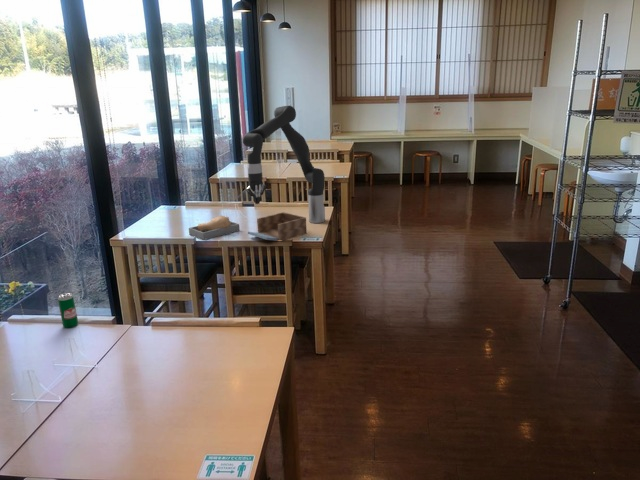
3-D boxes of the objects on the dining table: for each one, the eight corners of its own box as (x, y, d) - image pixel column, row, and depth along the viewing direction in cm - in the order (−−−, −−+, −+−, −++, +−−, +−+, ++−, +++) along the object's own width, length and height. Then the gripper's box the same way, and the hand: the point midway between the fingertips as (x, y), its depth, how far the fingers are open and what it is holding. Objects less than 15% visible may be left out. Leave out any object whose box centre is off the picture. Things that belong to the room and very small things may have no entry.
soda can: (66, 330, 178) (60, 299, 175) (60, 325, 181) (54, 295, 178) (80, 324, 182) (75, 294, 178) (74, 321, 185) (69, 291, 181)
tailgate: (259, 232, 285) (247, 231, 279) (277, 238, 273) (266, 237, 267) (258, 234, 285) (247, 233, 279) (277, 240, 273) (266, 239, 267)
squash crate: (224, 225, 306) (224, 219, 305) (239, 230, 296) (239, 224, 294) (189, 234, 290) (188, 228, 289) (203, 239, 279) (202, 233, 278)
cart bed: (284, 227, 299) (283, 212, 296) (306, 233, 286) (306, 217, 283) (258, 234, 286) (257, 218, 284) (280, 241, 273) (279, 224, 270)
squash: (230, 233, 287) (226, 219, 283) (197, 238, 290) (192, 224, 286) (234, 225, 297) (230, 211, 293) (202, 230, 300) (198, 216, 296)
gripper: (260, 169, 271) (262, 200, 276) (240, 172, 262) (243, 204, 267) (269, 170, 266) (271, 202, 271) (249, 174, 257) (251, 207, 262)
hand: (257, 203), depth 269 cm, fingers closed
